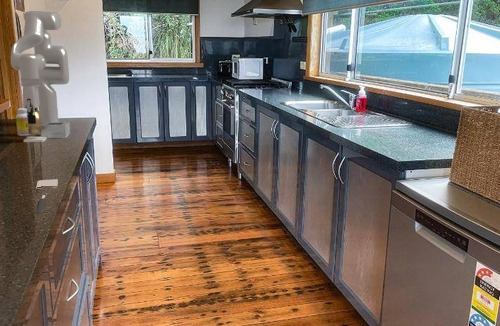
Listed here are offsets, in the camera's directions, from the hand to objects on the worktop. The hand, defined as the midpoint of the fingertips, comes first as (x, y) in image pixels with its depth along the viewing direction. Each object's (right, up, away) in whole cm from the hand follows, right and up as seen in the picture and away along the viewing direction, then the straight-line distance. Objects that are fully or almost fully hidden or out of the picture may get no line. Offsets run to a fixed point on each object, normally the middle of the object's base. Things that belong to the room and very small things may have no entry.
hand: (33, 122), depth 210 cm
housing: (+5, -5, +13) cm, 15 cm away
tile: (0, -8, +2) cm, 8 cm away
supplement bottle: (-11, -5, +14) cm, 18 cm away
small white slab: (+38, -29, -74) cm, 89 cm away
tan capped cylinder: (0, -5, +1) cm, 5 cm away
